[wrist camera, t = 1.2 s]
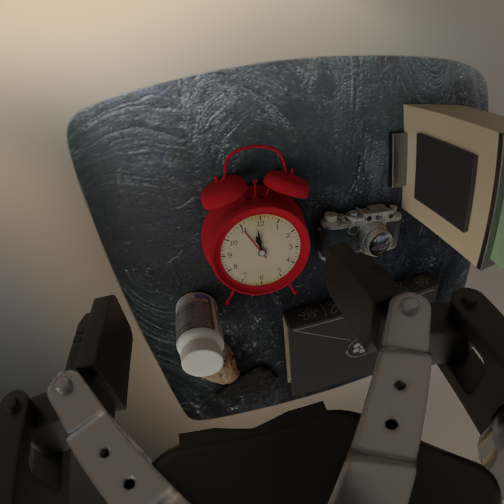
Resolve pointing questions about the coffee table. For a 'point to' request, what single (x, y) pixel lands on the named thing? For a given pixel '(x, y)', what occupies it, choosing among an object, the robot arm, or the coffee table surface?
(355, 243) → the camera
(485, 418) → the robot arm
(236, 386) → the arrowhead
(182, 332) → the pill bottle
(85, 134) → the coffee table surface
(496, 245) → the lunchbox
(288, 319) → the book
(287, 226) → the alarm clock
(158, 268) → the coffee table surface
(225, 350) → the tan elongated rock
